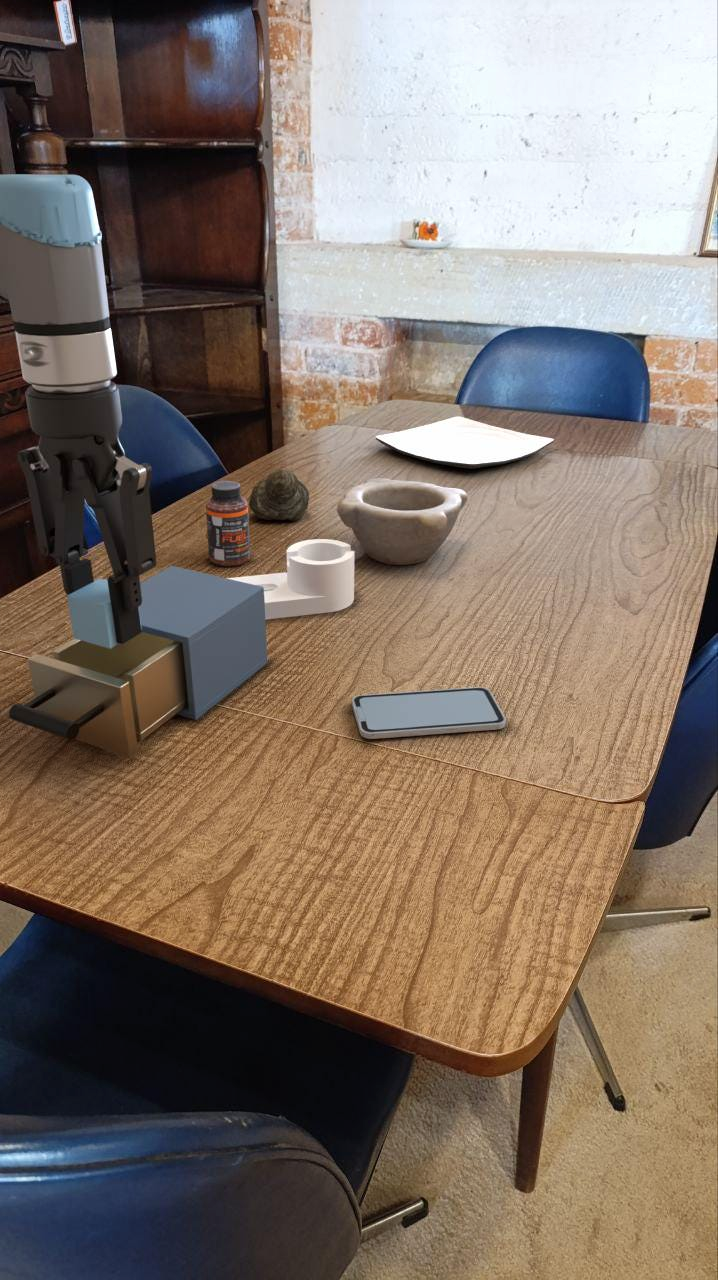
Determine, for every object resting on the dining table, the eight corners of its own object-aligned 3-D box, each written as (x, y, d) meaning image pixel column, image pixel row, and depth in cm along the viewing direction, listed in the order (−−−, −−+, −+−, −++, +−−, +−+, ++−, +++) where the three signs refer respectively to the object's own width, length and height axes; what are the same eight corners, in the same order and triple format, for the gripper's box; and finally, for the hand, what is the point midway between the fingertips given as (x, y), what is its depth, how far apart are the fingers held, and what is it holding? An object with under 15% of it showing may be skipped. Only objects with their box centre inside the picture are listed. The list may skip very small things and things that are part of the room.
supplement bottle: (224, 571, 124) (219, 494, 118) (201, 559, 127) (195, 484, 122) (259, 560, 127) (255, 485, 122) (235, 549, 131) (230, 475, 126)
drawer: (93, 787, 78) (80, 714, 75) (1, 753, 83) (-15, 682, 79) (209, 696, 92) (203, 631, 88) (124, 671, 97) (116, 608, 93)
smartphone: (508, 723, 88) (361, 734, 86) (507, 730, 89) (361, 741, 86) (487, 685, 95) (350, 695, 92) (486, 692, 95) (350, 702, 93)
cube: (73, 638, 83) (66, 595, 81) (106, 619, 87) (100, 578, 85) (110, 649, 81) (104, 605, 79) (142, 629, 85) (136, 587, 83)
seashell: (229, 491, 136) (290, 496, 133) (250, 434, 141) (309, 438, 139) (249, 535, 145) (306, 540, 143) (267, 480, 151) (323, 484, 148)
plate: (563, 452, 178) (564, 439, 177) (472, 481, 161) (473, 467, 160) (456, 426, 197) (457, 414, 195) (364, 449, 179) (365, 436, 178)
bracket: (344, 581, 121) (344, 536, 118) (361, 608, 113) (362, 560, 110) (198, 597, 116) (194, 550, 113) (206, 626, 108) (202, 576, 105)
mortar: (471, 543, 134) (476, 485, 130) (436, 584, 120) (439, 521, 116) (370, 527, 140) (371, 471, 135) (325, 565, 126) (324, 503, 121)
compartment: (195, 720, 90) (188, 637, 85) (101, 690, 95) (89, 611, 90) (267, 663, 100) (264, 586, 96) (179, 638, 106) (171, 565, 101)
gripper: (-40, 380, 74) (11, 628, 85) (122, 403, 67) (155, 669, 77) (28, 366, 80) (67, 598, 90) (183, 384, 72) (206, 635, 83)
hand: (107, 631), depth 84 cm, fingers closed on cube, 4 cm apart
